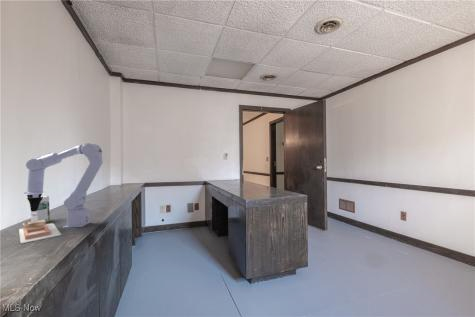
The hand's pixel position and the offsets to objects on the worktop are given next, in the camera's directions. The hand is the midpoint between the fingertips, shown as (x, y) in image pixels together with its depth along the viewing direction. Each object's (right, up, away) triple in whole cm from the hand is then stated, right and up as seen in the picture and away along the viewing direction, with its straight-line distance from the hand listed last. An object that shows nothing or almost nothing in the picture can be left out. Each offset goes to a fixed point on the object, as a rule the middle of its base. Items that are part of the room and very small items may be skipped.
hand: (33, 209), depth 106 cm
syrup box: (-6, -10, +10) cm, 16 cm away
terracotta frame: (+9, -10, -8) cm, 16 cm away
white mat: (+8, -10, -5) cm, 13 cm away
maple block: (0, -9, 0) cm, 9 cm away
